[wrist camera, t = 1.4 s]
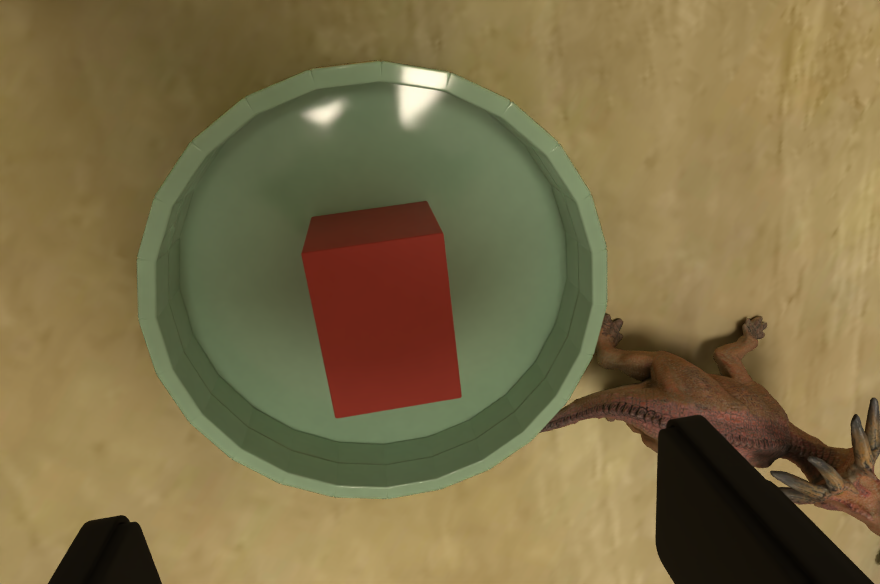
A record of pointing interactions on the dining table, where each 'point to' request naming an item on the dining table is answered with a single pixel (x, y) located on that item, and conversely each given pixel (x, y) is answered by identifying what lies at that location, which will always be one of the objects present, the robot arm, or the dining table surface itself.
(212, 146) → the bowl
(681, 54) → the dining table surface
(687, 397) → the dinosaur figurine
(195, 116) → the dining table surface
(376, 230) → the block
